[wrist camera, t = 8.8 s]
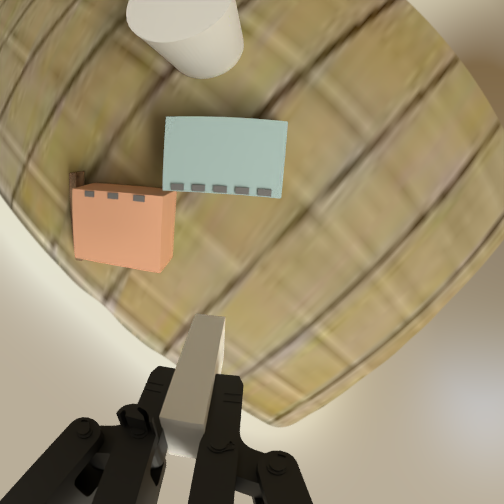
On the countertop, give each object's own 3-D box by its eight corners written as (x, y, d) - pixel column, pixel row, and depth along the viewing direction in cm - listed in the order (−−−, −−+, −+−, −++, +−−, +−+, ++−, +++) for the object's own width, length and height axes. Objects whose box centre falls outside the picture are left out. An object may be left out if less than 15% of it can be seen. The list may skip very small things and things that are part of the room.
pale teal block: (180, 121, 28) (165, 116, 24) (283, 126, 28) (288, 121, 23) (177, 184, 31) (161, 190, 26) (278, 190, 31) (281, 198, 26)
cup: (241, 13, 24) (231, -45, 13) (245, 74, 27) (235, 32, 15) (170, 23, 24) (130, -24, 13) (171, 83, 27) (123, 53, 16)
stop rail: (78, 171, 30) (69, 173, 29) (84, 171, 30) (75, 172, 29) (83, 254, 34) (75, 260, 32) (89, 255, 34) (81, 260, 32)
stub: (95, 182, 31) (71, 189, 26) (177, 189, 31) (162, 196, 26) (95, 244, 34) (74, 258, 29) (173, 256, 34) (159, 273, 29)
